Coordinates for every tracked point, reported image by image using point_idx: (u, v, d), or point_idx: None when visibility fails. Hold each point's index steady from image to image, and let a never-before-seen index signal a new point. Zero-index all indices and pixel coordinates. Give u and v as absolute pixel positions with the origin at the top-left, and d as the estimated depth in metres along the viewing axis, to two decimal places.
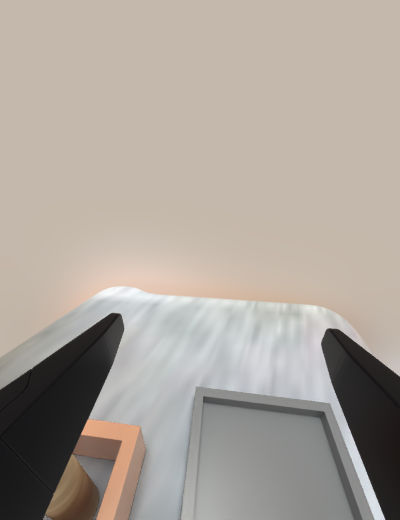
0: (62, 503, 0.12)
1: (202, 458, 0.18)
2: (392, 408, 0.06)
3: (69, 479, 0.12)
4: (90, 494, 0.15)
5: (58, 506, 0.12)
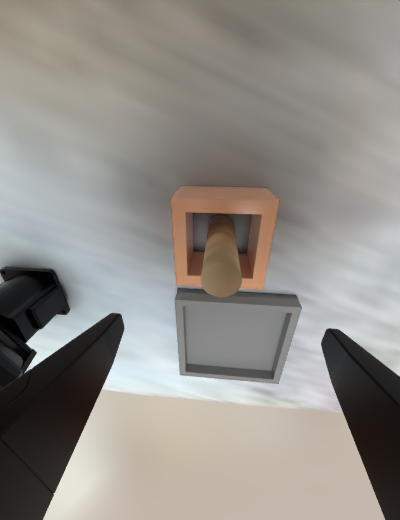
0: None
1: None
2: (392, 408, 0.06)
3: None
4: None
5: None
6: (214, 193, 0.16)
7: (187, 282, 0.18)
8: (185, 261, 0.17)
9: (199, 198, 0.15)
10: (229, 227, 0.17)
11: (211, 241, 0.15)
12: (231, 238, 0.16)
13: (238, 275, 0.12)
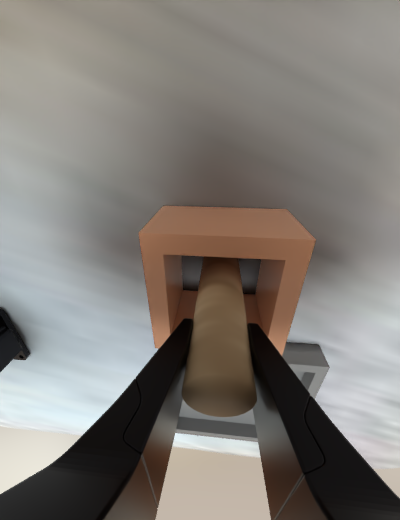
0: None
1: None
2: (270, 396, 0.06)
3: None
4: None
5: None
6: (209, 222, 0.10)
7: None
8: (166, 320, 0.12)
9: (184, 234, 0.09)
10: (232, 269, 0.12)
11: (204, 302, 0.09)
12: (236, 294, 0.10)
13: (251, 392, 0.07)
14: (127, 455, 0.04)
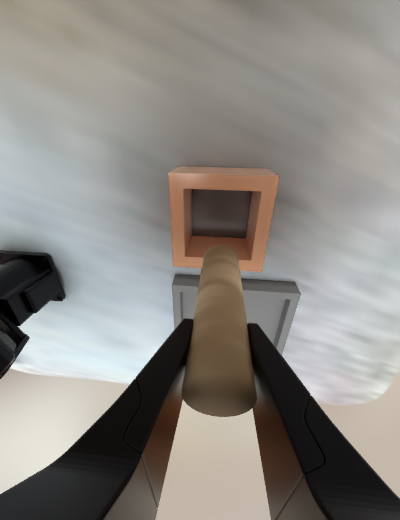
0: None
1: None
2: (270, 396, 0.06)
3: None
4: None
5: None
6: (213, 171, 0.16)
7: (184, 264, 0.18)
8: (182, 241, 0.17)
9: (197, 173, 0.14)
10: (232, 269, 0.12)
11: (204, 302, 0.09)
12: (236, 294, 0.10)
13: (251, 391, 0.07)
14: (127, 455, 0.04)
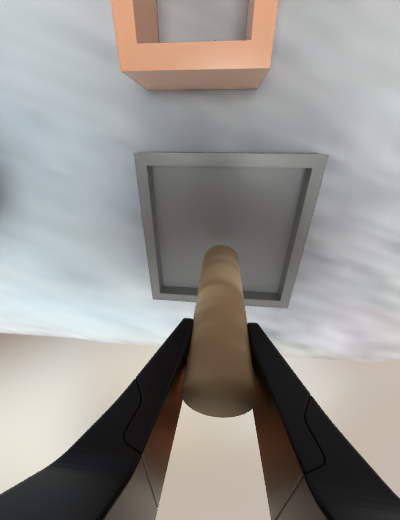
0: None
1: (245, 170, 0.16)
2: (270, 396, 0.06)
3: None
4: None
5: None
6: None
7: (138, 63, 0.11)
8: (130, 3, 0.10)
9: None
10: (232, 269, 0.12)
11: (204, 302, 0.09)
12: (236, 294, 0.10)
13: (251, 392, 0.07)
14: (128, 455, 0.04)
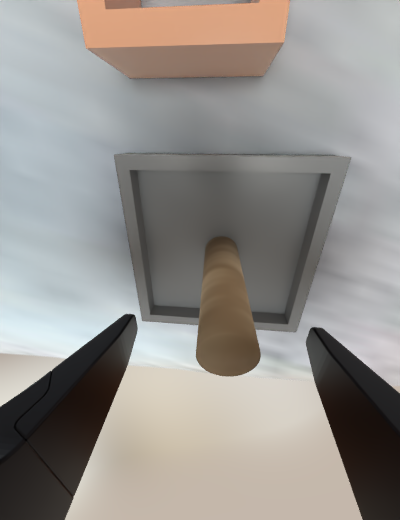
0: None
1: (248, 176, 0.13)
2: (367, 406, 0.06)
3: None
4: None
5: None
6: None
7: (109, 36, 0.08)
8: None
9: None
10: (233, 256, 0.13)
11: (210, 283, 0.11)
12: (238, 276, 0.11)
13: (255, 349, 0.08)
14: (11, 441, 0.05)
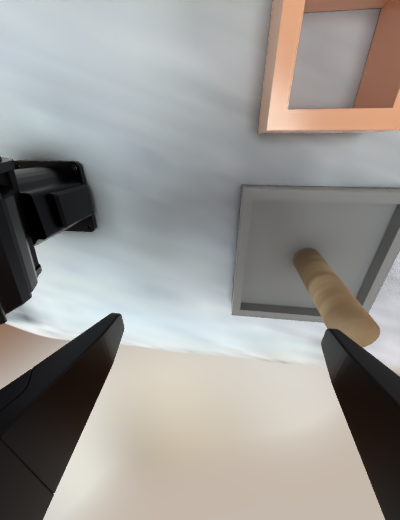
0: None
1: (340, 203, 0.17)
2: (392, 408, 0.06)
3: None
4: None
5: (315, 305, 0.16)
6: None
7: (285, 124, 0.12)
8: (290, 78, 0.11)
9: None
10: (328, 265, 0.17)
11: (324, 285, 0.15)
12: (341, 281, 0.15)
13: (377, 330, 0.12)
14: None
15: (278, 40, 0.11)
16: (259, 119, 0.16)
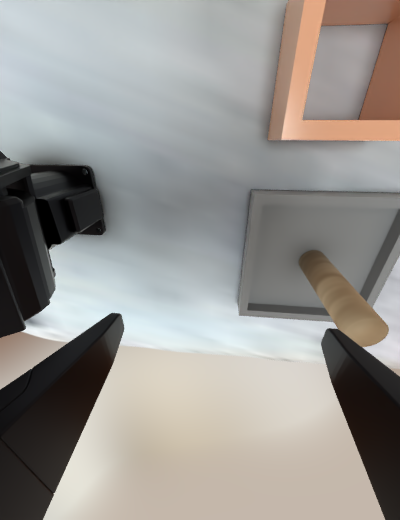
0: (325, 307, 0.16)
1: (345, 207, 0.18)
2: (392, 408, 0.06)
3: None
4: None
5: None
6: None
7: (299, 134, 0.13)
8: (305, 91, 0.12)
9: None
10: (334, 266, 0.18)
11: (332, 286, 0.16)
12: (348, 282, 0.16)
13: (386, 329, 0.13)
14: None
15: (295, 55, 0.11)
16: (269, 126, 0.16)
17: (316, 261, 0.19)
